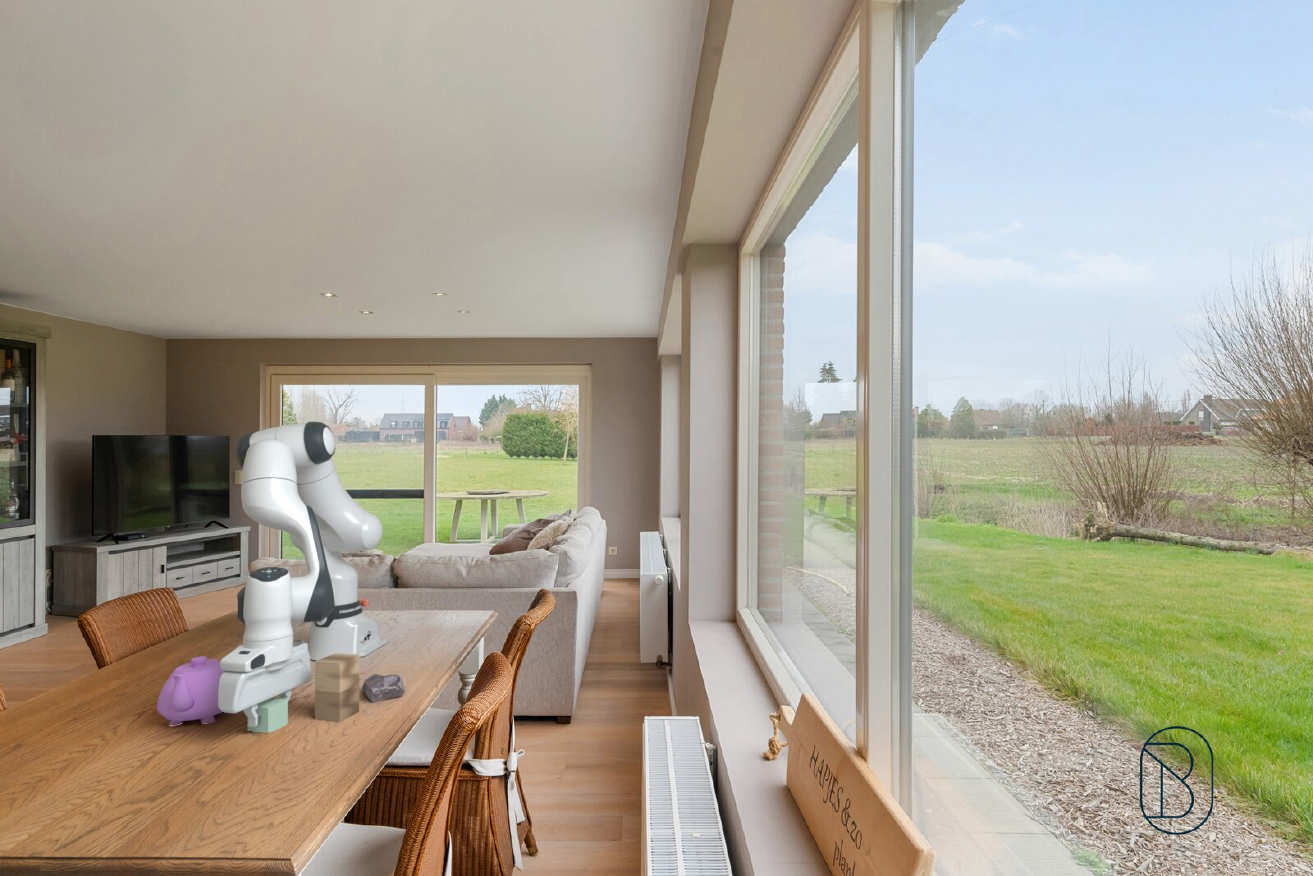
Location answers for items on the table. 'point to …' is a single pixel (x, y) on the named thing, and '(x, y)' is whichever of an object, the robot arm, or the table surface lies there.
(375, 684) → the rock
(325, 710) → the tower bottom
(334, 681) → the tower top
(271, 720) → the sage block
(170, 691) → the teapot
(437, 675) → the table surface
